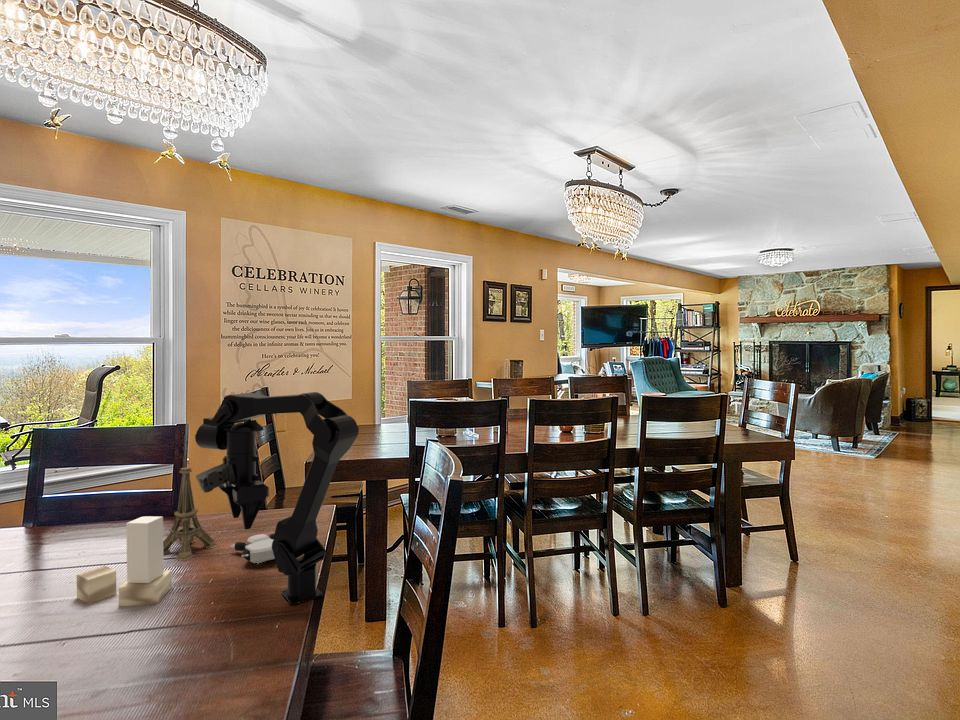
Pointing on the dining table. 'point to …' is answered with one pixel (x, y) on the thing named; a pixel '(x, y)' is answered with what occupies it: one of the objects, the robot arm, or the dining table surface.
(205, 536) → the eiffel tower
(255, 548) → the robot toy
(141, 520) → the pillar
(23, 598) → the dining table surface
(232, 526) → the dining table surface
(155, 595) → the tan glossy block
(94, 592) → the cube
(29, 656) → the dining table surface
